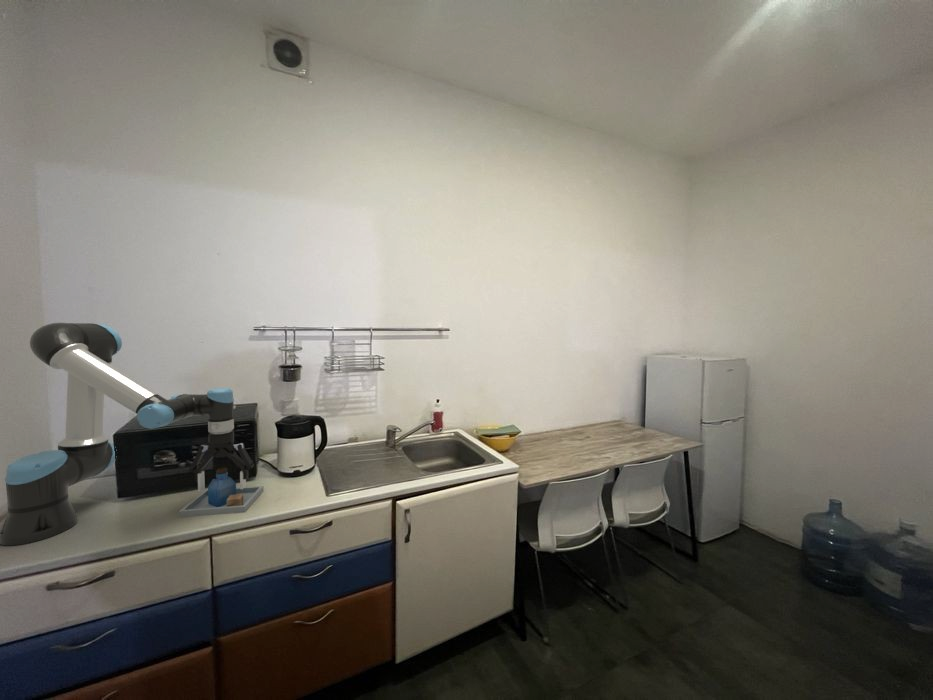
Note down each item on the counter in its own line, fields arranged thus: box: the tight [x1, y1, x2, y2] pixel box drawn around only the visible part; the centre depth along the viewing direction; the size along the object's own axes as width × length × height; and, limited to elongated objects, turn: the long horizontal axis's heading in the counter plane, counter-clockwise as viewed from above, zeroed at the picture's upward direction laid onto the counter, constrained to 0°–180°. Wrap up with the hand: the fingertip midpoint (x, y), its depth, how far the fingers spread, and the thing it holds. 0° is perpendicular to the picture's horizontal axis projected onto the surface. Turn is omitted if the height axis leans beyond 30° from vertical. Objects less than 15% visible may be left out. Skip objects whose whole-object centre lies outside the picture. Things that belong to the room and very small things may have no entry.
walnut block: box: [227, 494, 243, 507], centre depth 119 cm, size 4×4×4 cm
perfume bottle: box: [207, 467, 237, 507], centre depth 123 cm, size 6×6×12 cm
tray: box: [178, 485, 264, 518], centre depth 123 cm, size 20×16×2 cm
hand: (222, 489), depth 123 cm, fingers open, 13 cm apart
